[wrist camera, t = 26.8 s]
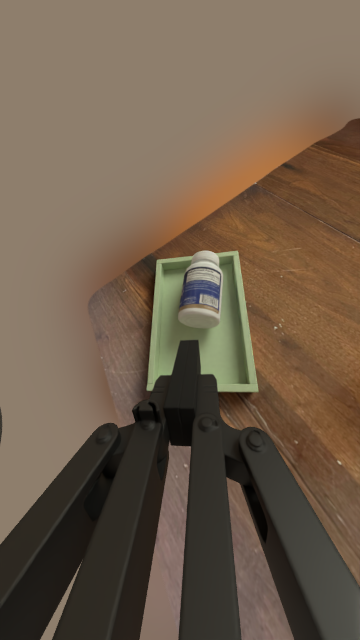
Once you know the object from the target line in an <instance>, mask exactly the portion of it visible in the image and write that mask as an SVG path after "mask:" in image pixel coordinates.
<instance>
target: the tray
mask: <svg viewBox="0 0 360 640" xmlns="http://www.w3.org/2000/svg"><path fill="white" fill-rule="evenodd" d="M215 254H216V255H217V256H218V257H219V268H220V270H221V271H222V273H223V288H222V302H221V316H220V323H219V324H218V325H217V326H216V327H213V328H204V329H203V328H193V327H189V326H186V325H184V324H182V323H181V322H180V321H179V320H178V312H179V305H180V299H181V293H182V287H183V280H184V274H185V271H186V270H187V268H188V267H189V266H191V261H192V257H193V256H189V257H180V258H171V259H162V260H157V266H156V279H155V291H154V304H153V317H152V330H151V342H150V355H149V368H148V380H147V391H152V390H153V388H154V384H155V381H156V380H157V379H158V378H159V376H160V375H171V374H172V370H173V367H174V363H175V359H176V355H177V351H178V347H179V343H180V340H198V341H199V352H200V363H201V374H213V375H214V376H215V378H216V379H217V388H218V392H258V385H257V379H256V372H255V365H254V358H253V351H252V344H251V337H250V331H249V324H248V317H247V310H246V303H245V296H244V289H243V283H242V276H241V269H240V262H239V256H238V251H232V252H224V253H215Z"/></svg>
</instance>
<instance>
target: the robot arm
mask: <svg viewBox="0 0 360 640" xmlns="http://www.w3.org/2000/svg"><path fill="white" fill-rule="evenodd" d="M132 412H133V415H134V419H135V423H134V424H131V425H128V426H125V427H121V428H118V427H117V425H115V424H114V423H107V424H104V425H102V426H100V427H98V428H97V429H96V430H95V431H94V432H93V433H92V435H91V436H90V437H89V438H88V439H87V441H86V442H85V443H84V444H83V446H82V447H81V448H80V449H79V450H78V452H77V453H76V454H75V455H74V456H73V458H72V459H71V460H70V461H69V462H68V464H67V465H66V466H65V467H64V469H63V470H62V471H61V472H60V473H59V475H58V476H57V477H56V478H55V479H54V481H53V482H52V483H51V484H50V485H49V487H48V488H47V489H46V490H45V491H44V493H43V494H42V495H41V496H40V497H39V499H38V500H37V501H36V502H35V504H34V505H33V506H32V507H31V508H30V510H29V511H28V512H27V513H26V514H25V516H24V517H23V518H22V519H21V520H20V522H19V523H18V524H17V525H16V526H15V528H14V529H13V530H12V531H11V532H10V534H9V535H8V536H7V537H6V538H5V540H4V541H3V542H2V543H1V544H0V640H40V639H41V637H42V635H43V633H44V631H45V629H46V627H47V626H48V624H49V622H50V620H51V618H52V616H53V614H54V612H55V610H56V609H57V607H58V605H59V603H60V601H61V599H62V597H63V596H64V594H65V592H66V590H67V588H68V586H69V584H70V582H71V580H72V579H73V577H74V575H75V573H76V571H77V569H78V567H79V565H80V564H81V566H80V568H79V571H78V574H77V576H76V579H75V581H74V584H73V587H72V589H71V592H70V594H69V597H68V600H67V602H66V605H65V607H64V610H63V613H62V616H61V618H60V620H59V623H58V626H57V628H56V631H55V633H54V636H53V639H52V640H139V639H140V632H141V626H142V620H143V614H144V608H145V602H146V595H147V589H148V583H149V577H150V571H151V565H152V559H153V553H154V547H155V540H156V534H157V528H158V522H159V516H160V510H161V504H162V497H163V491H164V485H165V479H166V473H167V467H168V461H169V450H168V446H169V440H170V443H171V445H175V446H191V459H190V474H189V489H188V504H187V519H186V534H185V549H184V564H183V579H182V595H181V610H180V625H179V640H242V639H241V629H240V618H239V607H238V597H237V586H236V575H235V565H234V554H233V543H232V533H231V522H230V511H229V501H228V490H227V479H226V477H228V478H230V479H232V480H234V481H236V482H238V483H240V485H241V488H242V491H243V494H244V496H245V499H246V502H247V505H248V508H249V511H250V514H251V517H252V519H253V522H254V525H255V528H256V531H257V534H258V537H259V539H260V542H261V545H262V548H263V551H264V554H265V557H266V559H267V562H268V565H269V568H270V571H271V574H272V577H273V579H274V582H275V585H276V588H277V591H278V594H279V597H280V600H281V602H282V605H283V608H284V611H285V614H286V617H287V620H288V622H289V625H290V628H291V631H292V634H293V637H294V640H360V587H359V585H358V583H357V582H356V580H355V578H354V577H353V575H352V573H351V572H350V570H349V568H348V567H347V565H346V563H345V562H344V560H343V558H342V557H341V555H340V553H339V552H338V550H337V548H336V547H335V545H334V543H333V542H332V540H331V538H330V537H329V535H328V533H327V532H326V530H325V528H324V527H323V525H322V523H321V522H320V520H319V518H318V517H317V515H316V513H315V512H314V510H313V508H312V507H311V505H310V503H309V502H308V500H307V498H306V497H305V495H304V493H303V492H302V490H301V488H300V487H299V485H298V483H297V482H296V480H295V478H294V476H293V475H292V473H291V471H290V470H289V468H288V466H287V465H286V463H285V461H284V460H283V458H282V456H281V455H280V453H279V451H278V450H277V448H276V446H275V445H274V443H273V441H272V440H271V438H270V437H269V436H268V435H267V433H265V432H264V431H262V430H261V429H258V428H255V427H247V428H245V429H243V430H242V431H240V430H237V429H234V428H232V427H230V426H228V425H227V424H226V423H225V422H224V421H223V420H222V418H221V416H220V409H219V398H218V388H217V379H216V378H215V376H214V375H213V374H201V363H200V352H199V341H198V340H180V343H179V347H178V351H177V355H176V359H175V363H174V367H173V370H172V374H171V375H160V376H159V378H158V379H157V380H156V381H155V384H154V388H153V390H152V393H151V395H150V398H149V399H148V400H143V401H141V402H139V403H138V404H137V405H135V406H134V408H133V409H132ZM82 560H83V561H82ZM81 562H82V563H81Z"/></svg>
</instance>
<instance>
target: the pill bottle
mask: <svg viewBox="0 0 360 640" xmlns="http://www.w3.org/2000/svg"><path fill="white" fill-rule="evenodd" d="M222 288H223V273H222V271H221V270H220V268H219V257H218V256H217V255H216V254H215V253H213V252H211V251H200V252H197V253H196V254H194V256H193V257H192V261H191V266H189V267H188V268H187V270H186V271H185V274H184V280H183V287H182V293H181V299H180V305H179V312H178V320H179V321H180V322H181V323H182V324H184V325H186V326H189V327H193V328H203V329H204V328H213V327H216V326H217V325H218V324H219V323H220V316H221V302H222Z"/></svg>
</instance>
